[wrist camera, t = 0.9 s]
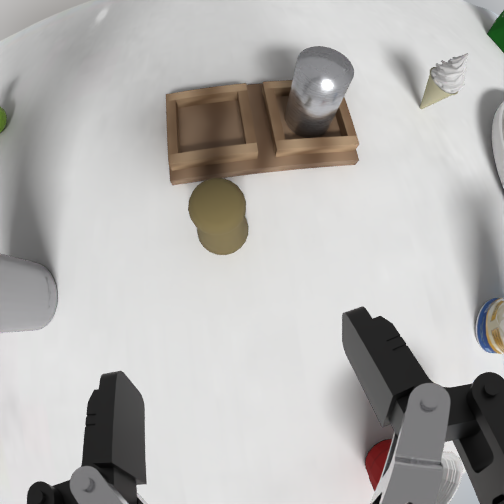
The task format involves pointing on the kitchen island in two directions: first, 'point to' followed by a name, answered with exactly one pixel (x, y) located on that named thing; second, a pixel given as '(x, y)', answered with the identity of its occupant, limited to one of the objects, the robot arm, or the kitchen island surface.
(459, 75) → the ice cream cone
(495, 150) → the bowl
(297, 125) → the steel billet
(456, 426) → the robot arm
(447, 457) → the plastic cup
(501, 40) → the milk carton
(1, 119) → the snail figurine
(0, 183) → the kitchen island surface
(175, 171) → the brown wooden flat tray
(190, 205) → the cork
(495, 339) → the beverage bottle
